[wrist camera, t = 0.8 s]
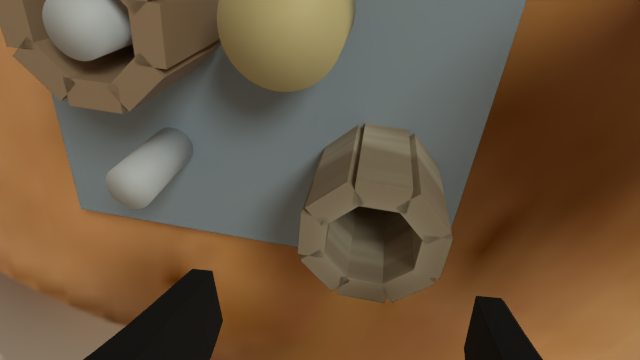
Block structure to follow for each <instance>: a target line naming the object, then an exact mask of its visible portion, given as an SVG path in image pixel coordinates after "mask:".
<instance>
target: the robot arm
mask: <svg viewBox="0 0 640 360" xmlns="http://www.w3.org/2000/svg"><path fill="white" fill-rule="evenodd" d="M222 322H223V319H222V314H221V310H220V305H219V300H218V296H217V291H216V286H215V282H214V277H213V272H212V271H208V270H197V269H192V270H191V271H189V272H188V273H187V274H186V275H185V276H184V277H182V278H181V279H180V280H179V281H178V282H177V283H176V284H174V285H173V286H172V287H171V288H170V289H169V290H168V291H166V292H165V293H164V294H163V295H162V296H161V297H160V298H158V299H157V300H156V301H155V302H154V303H153V304H152V305H151V306H149V307H148V308H147V309H146V310H145V311H143V312H142V313H141V314H140V315H139V316H138V317H136V318H135V319H134V320H133V321H132V322H131V323H129V324H128V325H127V326H126V327H125V328H123V329H122V330H121V331H120V332H118V333H117V334H116V335H115V336H113V337H112V338H111V339H109V340H108V341H107V342H106V343H104V344H103V345H102V346H101V347H99V348H98V349H97V350H96V351H94V352H93V353H92V354H90V355H89V356H87V357H86V358H85V359H84V360H210V358H211V355H212V353H213V350H214V347H215V344H216V341H217V338H218V335H219V331H220V328H221V325H222ZM464 353H465V360H543V359H542V358H541V356H540V355H539V354H538V352H537V351H536V349H535V348H534V346H533V345H532V343H531V342H530V341H529V339H528V338H527V336H526V335H525V333H524V332H523V330H522V329H521V327H520V326H519V324H518V322H517V321H516V319H515V318H514V316H513V315H512V313H511V312H510V310H509V308H508V307H507V305H506V304H505V302H504V301H503V300H502V299H501V298H493V297H482V296H476V299H475V303H474V307H473V312H472V316H471V320H470V325H469V329H468V333H467V338H466V342H465V346H464Z"/></svg>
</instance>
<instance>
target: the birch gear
mask: <svg viewBox="0 0 640 360" xmlns="http://www.w3.org/2000/svg"><path fill="white" fill-rule="evenodd" d="M360 206H362V207H360ZM366 207H368V208H366ZM372 208H374V209H372ZM378 209H380V210H378ZM384 210H386V211H384ZM452 241H453V237H452V232H451V226H450V221H449V216H448V211H447V206H446V201H445V196H444V191H443V185H442V180H441V175H440V170H439V165H438V163H437V162H436V161H435V159H434V158H433V157H432V155H431V154H430V153H429V151H428V150H427V149H426V147H425V146H424V145H423V143H422V142H421V141H420V139H419V138H418V137H417V135H416V134H415V133H414V134H412V135H411V136H409V129H402V128H396V127H389V126H382V125H376V124H369V123H365V128H364V131H363V130H362V128H361V127H360V126H359V125H357V126H355V127H354V128H352V129H351V130H350V131H348V132H347V133H345V134H344V135H342V136H341V137H339V138H338V139H336V140H335V141H333V142H332V143H330V144H329V145H327V146H326V147H325V149H324V152H322V154H321V157H320V160H319V163H318V166H317V169H316V172H315V174H314V177H313V180H312V183H311V186H310V189H309V192H308V195H307V198H306V201H305V204H304V207H303V210H302V213H301V220H300V232H299V244H298V254H301V259H300V260H301V261H302V262H303V263H304V264H305V265H306V266H307V267H308V269H309V270H310V271H311V272H312V273H313V274H314V275H315V276H316V277H317V278H318V279H319V280H320V281H321V282H322V283H323V284H324V285H325V286H326V287H327V288H328V289H329V290H330V291H332V290H334V289H336V288H338V295H343V296H349V297H354V298H359V299H365V300H370V301H375V302H381V303H385V299H386V296H387V297H388V298H389V300H390V301H391V302H395V301H397V300H399V299H402V298H404V297H406V296H409V295H411V294H413V293H416V292H418V291H420V290H422V289H425V288H427V287H429V286H432V285H434V278H435V279H440V277H441V274H442V271H443V268H444V265H445V262H446V259H447V256H448V253H449V250H450V247H451V244H452Z"/></svg>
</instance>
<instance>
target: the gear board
mask: <svg viewBox="0 0 640 360" xmlns="http://www.w3.org/2000/svg"><path fill="white" fill-rule="evenodd" d="M525 3H526V0H0V25H1V29H2V32H3V36H4V39H5V42H6V46H7V47H14V48H18V49H17V51H16V52H15V53H14V55H13V57H14V58H16V59H17V60H18V61H19V62H20V63H21V64H22V65H23V66H24V67H25V68H26V69H27V70H28V71H29V72H30V73H32V74H33V75H34V76H35V77H36V78H37V79H38V80H39V81H40V82H41V83H42V84H43V85H44V86H45V87H46V88H47V89H49V90H50V91H51V93H52V97H53V101H54V105H55V108H56V112H57V116H58V120H59V124H60V128H61V132H62V136H63V140H64V143H65V147H66V151H67V155H68V159H69V163H70V167H71V171H72V175H73V178H74V182H75V186H76V190H77V194H78V198H79V202H80V206H81V209H85V210H91V211H97V212H102V213H108V214H113V215H119V216H125V217H130V218H136V219H141V220H147V221H153V222H158V223H164V224H169V225H175V226H181V227H186V228H192V229H197V230H203V231H209V232H214V233H220V234H225V235H231V236H237V237H242V238H248V239H253V240H259V241H265V242H270V243H276V244H281V245H287V246H293V247H298V244H299V232H300V220H301V213H302V210H303V207H304V204H305V201H306V198H307V195H308V192H309V189H310V186H311V183H312V180H313V177H314V174H315V172H316V169H317V166H318V163H319V160H320V157H321V154H322V152H324V149H325V147H326V146H327V145H329V144H330V143H332V142H333V141H335V140H336V139H338V138H339V137H341V136H342V135H344V134H345V133H347V132H348V131H350V130H351V129H352V128H354V127H355V126H357V125H359V126H360V127H361V128H362V130H363V131H364V128H365V123H369V124H376V125H382V126H389V127H396V128H402V129H409V136H411V135H412V134H414V133H415V134H416V135H417V137H418V138H419V139H420V141H421V142H422V143H423V145H424V146H425V147H426V149H427V150H428V151H429V153H430V154H431V155H432V157H433V158H434V159H435V161H436V162H437V163H438V165H439V170H440V175H441V180H442V185H443V191H444V196H445V201H446V206H447V211H448V216H449V221H450V226H451V227H452V224H453V221H454V218H455V215H456V212H457V209H458V206H459V203H460V200H461V197H462V194H463V191H464V188H465V185H466V182H467V179H468V176H469V173H470V170H471V167H472V164H473V161H474V158H475V155H476V152H477V149H478V146H479V142H480V139H481V136H482V133H483V130H484V127H485V124H486V121H487V118H488V115H489V112H490V109H491V106H492V103H493V100H494V97H495V94H496V91H497V88H498V85H499V82H500V79H501V76H502V73H503V70H504V67H505V64H506V61H507V58H508V55H509V52H510V49H511V46H512V43H513V40H514V36H515V33H516V30H517V27H518V24H519V21H520V18H521V15H522V12H523V9H524V6H525ZM360 207H362V206H360ZM366 208H368V207H366ZM372 209H374V208H372ZM378 210H380V209H378ZM384 211H386V210H384Z"/></svg>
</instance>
